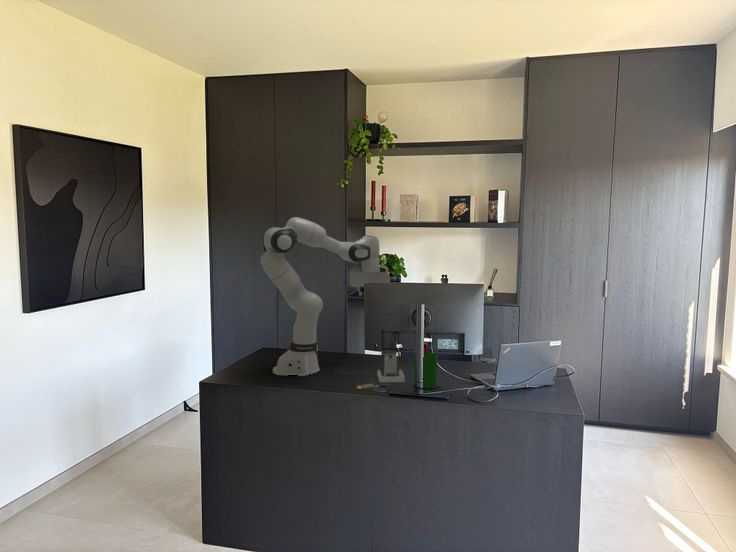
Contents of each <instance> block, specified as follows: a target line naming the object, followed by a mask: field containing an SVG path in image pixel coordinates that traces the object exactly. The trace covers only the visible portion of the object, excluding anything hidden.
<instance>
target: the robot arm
mask: <svg viewBox="0 0 736 552" xmlns="http://www.w3.org/2000/svg"><path fill="white" fill-rule="evenodd" d="M261 239H262V244H263V245H262V246H263V250H264V251H265V252H264V253H263V254H262V255H261V258H260V265H261V267H262V268H263V270H264V272H265V273H266V274H267V276H268V278H270V280H271V282H272V283H273V284H274V285H275V287H277V289H278V290H279V291H280V293H281V294H282V296H283V298H284V299H285V302H286V303H287V305H288V306H289V308H290V309H292V310H293V311H294V312H296V318H295V322H294V324H293V326H292V335H293V336H292V338H293V339H292V340H289V341H288V350H287V351H286V352H284V353H283V354H281V355H280V356H279V358H278V359H277V364H276V365H275V366H274V367H272V374H273V373H274V374H273V375H275V374H276V375H275V376H288V375H298V376H297V377H307V376H309V374H310V375H313V373H314V374H317V373H319V372H320V370H321V369H320V366H319V359H318V351H319V349H318V348H319V347H318V341H317V327H318V326H317V324H318V319H319V317H320V316H319V315H320V313H321V312H322V310H323V306H324V303H323V299H322V298H321V297H320V296H319V295H318V294H316V293H315V292H312V291H309V290H307V289H306V288H305V286H304V284H303V283H302V280H301V278H300V275H299V274H298V273H297V272H296V270H295V269H294V268H293V266H291V265H292V264H290V262H288V261H287V260H286V257H285V253H288V252H290V251H291V250H292V249H293V247H294V246H295V244H296V243H297V242H299V243H301V244H303V245H305V246H309V247H311V248H321V249H325V250H327V251H330V252H332V253H333V254H335V255H336V257H338V259H340V260H341V261H343V262H351V263H360V262H361V267H356V268H355V267H352V269H350V270H349V276H350V282H349V285H350V287H352V288H355V287H356V290H357V291H358V296H360V297H362V296H363V291H361V288H362V287H363V288H365V287H364V284H365V283H390V284H391V276H390V273H389V268H388V267H387V266H383V265H381V264H380V257H379V256H380V241H379V239H378V237H376V236H372V235H363V236H362V237H361V238H360V239H358V240H356V241H354V242H353V241H339V240H338V239H335V238H333V237H330V236H328V235H327V231H326V229H325V228H324V227H322V226H321V225H319V224H318V223H316V222H313V221H311V220H308V219H305V218H302V217H297V216H295V217H294V216H293V217H291V218H289V219H288V221H287V222H286V224H285V226H284V227H277V226H271V227H268V228H266V229H265V230H264V231H263V233H262V238H261ZM318 371H319V372H318ZM316 372H317V373H316ZM306 375H307V376H306Z"/></svg>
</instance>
